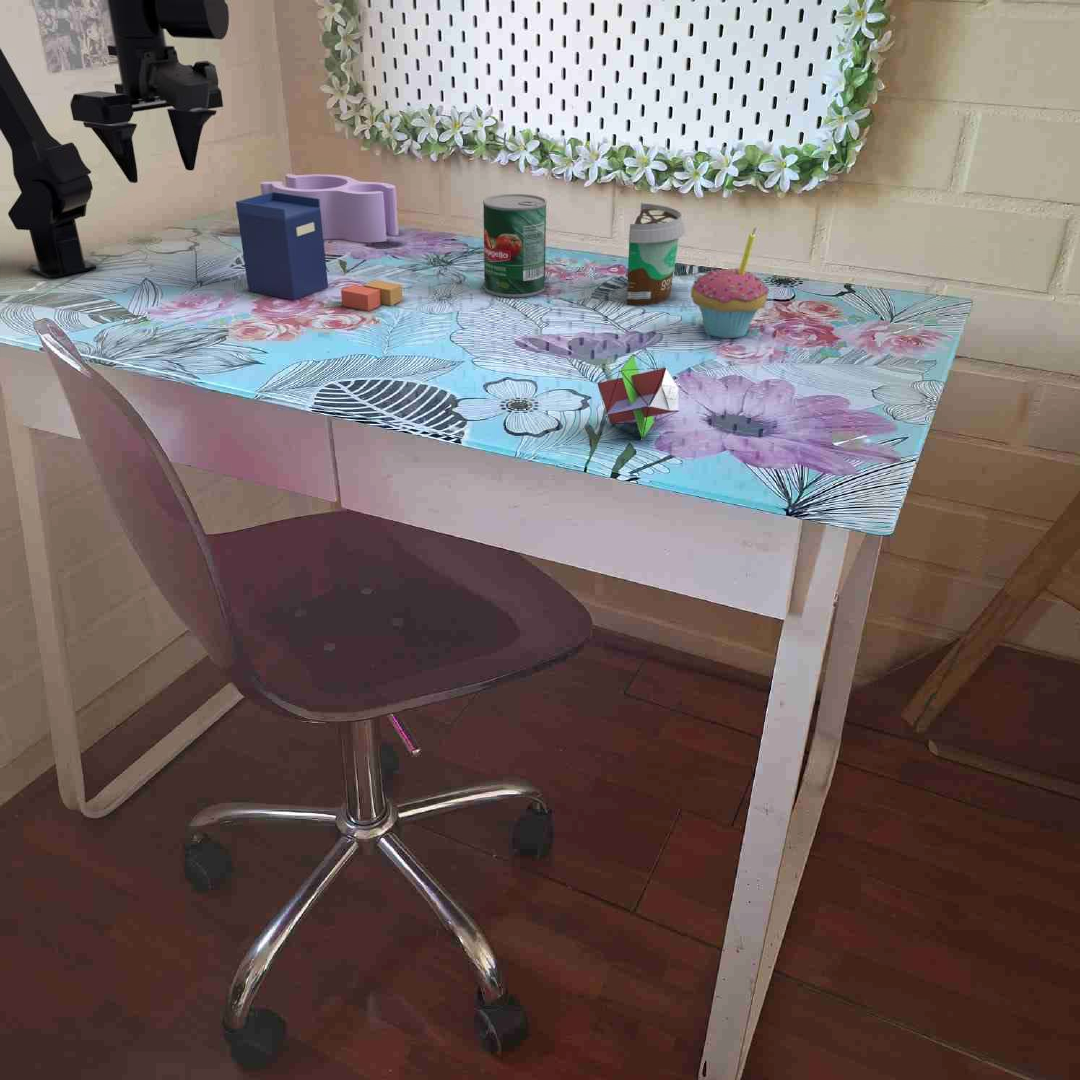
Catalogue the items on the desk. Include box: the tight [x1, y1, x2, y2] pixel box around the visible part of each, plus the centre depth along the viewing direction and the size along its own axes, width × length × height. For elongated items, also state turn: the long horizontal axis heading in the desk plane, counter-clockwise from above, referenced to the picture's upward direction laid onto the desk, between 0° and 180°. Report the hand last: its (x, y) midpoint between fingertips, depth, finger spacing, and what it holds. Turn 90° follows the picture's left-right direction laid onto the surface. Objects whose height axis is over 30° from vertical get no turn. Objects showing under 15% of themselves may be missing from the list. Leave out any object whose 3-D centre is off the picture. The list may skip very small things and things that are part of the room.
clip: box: [259, 173, 399, 244], centre depth 150 cm, size 20×12×7 cm, turn 69°
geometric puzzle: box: [596, 353, 680, 441], centre depth 89 cm, size 7×7×8 cm
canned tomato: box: [482, 193, 548, 298], centre depth 124 cm, size 8×8×11 cm
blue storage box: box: [235, 192, 329, 301], centre depth 123 cm, size 8×7×11 cm
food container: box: [625, 202, 686, 306], centre depth 123 cm, size 12×6×10 cm, turn 168°
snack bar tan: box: [363, 279, 404, 307], centre depth 122 cm, size 4×2×2 cm, turn 62°
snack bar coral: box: [340, 284, 382, 312], centre depth 120 cm, size 4×2×2 cm, turn 62°
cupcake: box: [690, 227, 770, 339], centre depth 111 cm, size 9×8×12 cm
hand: (162, 176), depth 123 cm, fingers open, 9 cm apart
